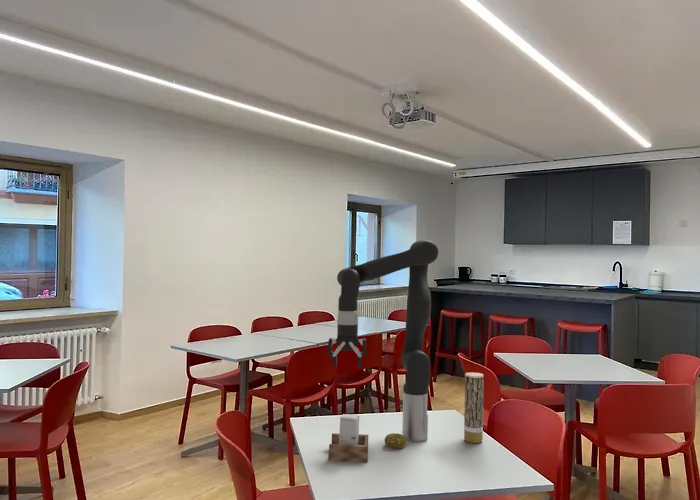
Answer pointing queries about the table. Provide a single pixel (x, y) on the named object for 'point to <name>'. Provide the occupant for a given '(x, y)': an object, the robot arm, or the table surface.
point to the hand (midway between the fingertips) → (347, 366)
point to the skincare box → (349, 429)
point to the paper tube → (473, 407)
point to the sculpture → (395, 441)
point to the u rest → (349, 450)
